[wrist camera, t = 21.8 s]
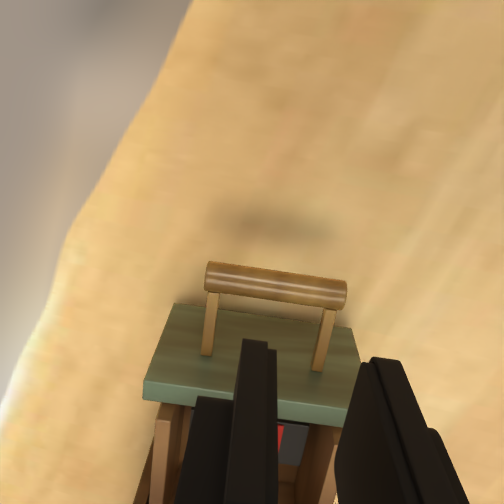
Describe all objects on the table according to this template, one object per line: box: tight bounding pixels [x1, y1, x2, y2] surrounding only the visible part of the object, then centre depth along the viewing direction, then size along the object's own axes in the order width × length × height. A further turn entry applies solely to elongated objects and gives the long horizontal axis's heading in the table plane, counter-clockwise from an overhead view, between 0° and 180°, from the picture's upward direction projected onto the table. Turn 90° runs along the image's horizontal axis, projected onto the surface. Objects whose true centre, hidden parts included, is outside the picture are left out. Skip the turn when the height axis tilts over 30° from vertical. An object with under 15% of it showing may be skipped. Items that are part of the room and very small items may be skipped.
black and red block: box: [188, 407, 310, 466], centre depth 30 cm, size 7×3×4 cm, turn 82°
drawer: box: [142, 261, 361, 504], centre depth 28 cm, size 19×11×8 cm, turn 172°
